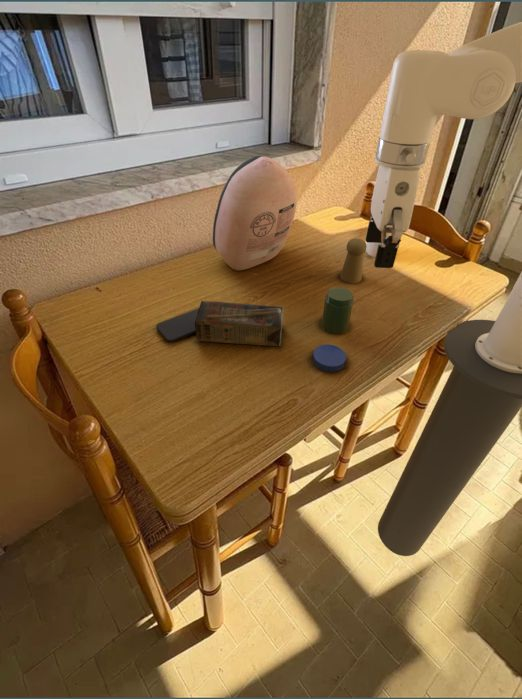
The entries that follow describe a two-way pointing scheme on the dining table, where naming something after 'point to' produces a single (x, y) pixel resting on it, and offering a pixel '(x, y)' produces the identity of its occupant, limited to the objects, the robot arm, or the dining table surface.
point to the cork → (353, 261)
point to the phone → (178, 326)
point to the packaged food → (254, 213)
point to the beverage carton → (239, 323)
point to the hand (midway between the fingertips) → (378, 253)
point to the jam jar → (337, 310)
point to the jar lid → (329, 358)
